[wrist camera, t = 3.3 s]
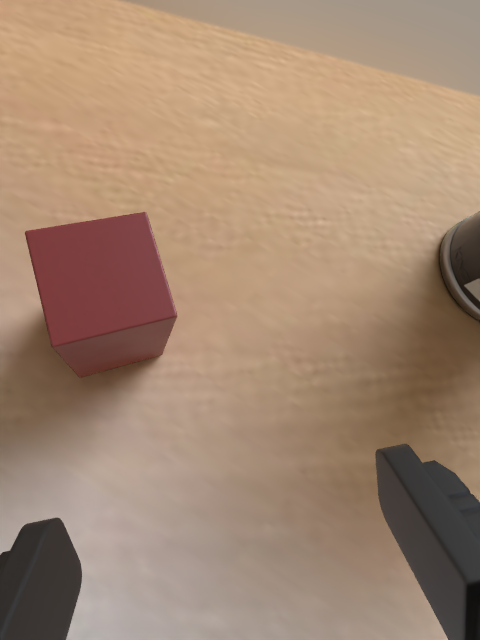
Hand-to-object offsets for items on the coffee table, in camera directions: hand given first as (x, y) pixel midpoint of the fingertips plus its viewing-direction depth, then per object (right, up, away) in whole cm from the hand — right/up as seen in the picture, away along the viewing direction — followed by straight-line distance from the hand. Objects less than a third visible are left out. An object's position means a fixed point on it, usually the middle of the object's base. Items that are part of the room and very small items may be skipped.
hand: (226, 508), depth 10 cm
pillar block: (-8, +4, +15) cm, 17 cm away
